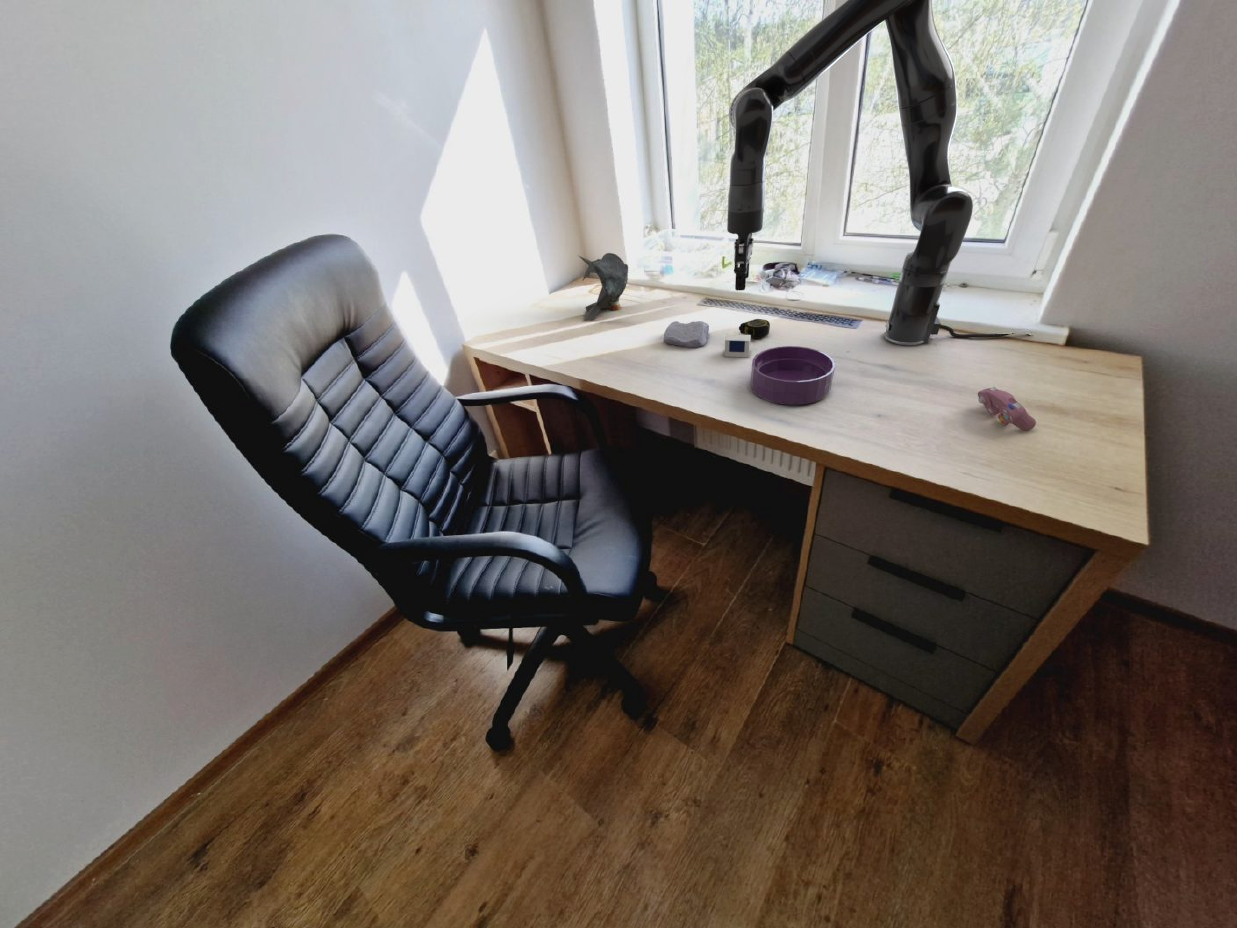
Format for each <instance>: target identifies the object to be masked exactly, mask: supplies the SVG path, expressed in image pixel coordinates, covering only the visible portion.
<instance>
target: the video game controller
mask: <svg viewBox="0 0 1237 928" xmlns="http://www.w3.org/2000/svg"><path fill="white" fill-rule="evenodd" d="M977 397H978V398H977V401H978V403H979V404H982V405H983V406H984V408H985V409H986V412H987V413H988V415H990V416H991V417H995V416H997V420H998V421H999V422H1000V424H1002V425H1003V426H1008V425H1009V424H1010V425H1013V426H1015V427H1016V428H1017V429H1019V430H1023V431H1031V430H1033V429H1034V428H1035V427H1036V425H1037V421H1036V419H1035V418H1034V417H1033V416H1031V415H1030V414H1029V413H1028V412H1027V410H1026V408H1025V407H1024V406H1023V405H1022V404H1021V403H1020V402H1019V401H1017V399H1016V398H1015V396H1014V395H1013V394H1012V393H1010V392H1008V391H1005V390H1001V389H998V388H997V387H996V386H992V387H988V388H984V389H982V390H980V391H978V392H977Z"/></svg>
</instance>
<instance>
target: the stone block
mask: <svg viewBox="0 0 1237 928" xmlns="http://www.w3.org/2000/svg"><path fill="white" fill-rule="evenodd" d="M709 333H710V325H709V324H708V323H707V322H706V321H703V320H700V321H699V320H698V321H690V322H686V323H684V322H679V321H672V322H671V323H670V324H668V326H667V327H666V328H665V330H664V333H663V341H664V343H665V344H670V345H676V346H678V347H683V348H690V349H692V348H693V349H694V348H701V347H703V346H704V345H705V344H707V339H708V336H709Z"/></svg>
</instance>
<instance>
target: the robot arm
mask: <svg viewBox="0 0 1237 928" xmlns="http://www.w3.org/2000/svg"><path fill="white" fill-rule="evenodd" d="M883 22H885V26H886V31H887V35H888V39H889V43H890V49H891V58H892V65H893V67H892V68H893V76H894V82H895V89H896V97H897V99H896V100H897V107H898V115H899V116H898V117H899V121H900V128H901V134H902V139H903V147H904V152H905V153H904V154H905V158H906V163H907V169H908V177H909V214H910V221H911V223H912V225H913V227H914V228H915V229H916V230H917V231H919V232H920V233H919V236H918V239H917V243H916V246H915V248H914V250H911V251H909V252H908V253H907V254H906V255H905V258H904V261H903V263H902V268H901V272H900V276H899V279H898V284H897V287H896V291H895V294H894V298H893V302H892V305H891V310H890V314H889V317H888V320H887V321H885V332H884V335H883V337H884V339H885V340H886V341H887V342H889V343H892V344H895V345H900V346H918V345H923V344H929V341H930V338H931V335H932V336H938V335H939V331H940V329H941V330H945V331H946V332H947V331H948V333H949V335H950V336H951V337H953V338H958V339H972V338H973V339H975V338H976V339H980V338H981V339H982V338H983V339H985V338H986V339H987V338H990V339H991V338H1001V337H1006V336H1010V335H1014V334H1015V333H1012V334H997V333H956V332H955V331H954V329H953V328H952V327H951V326H948V325H945V324H942V323H941V321H940V320H939V317H938V313H939V311H940V307H941V304H940V302H939V301H940V298H941V295H942V292H943V290H944V289H943V288H944V286H945V282H946V279H947V276H948V273H949V269H950V267H951V263H952V262H953V261H954V259H955V258H956V257H957V255H958V254H959V251H960V249H961V247H962V244H963V241H964V239H965V237H966V234H967V231H968V228H969V225H970V223H971V220H972V217H973V216H972V215H973V212H974V201H973V198H972V196H971V195H970V194H969V192H966V191H964V190H962V189H959V188H956V187H954V185H953V183H952V179H951V173H950V164H949V150H950V145H951V139H952V136H953V133H954V131H955V130H954V129H955V126H956V121H957V116H958V96H957V95H958V94H957V83H956V74H955V73H956V72H955V67H954V65H953V62H952V59H951V56H950V54H949V53H948V51H947V48H946V46H945V45H944V43H943V40H942V38H941V36H940V34H939V32H938V29H937V26H936V24H935V19H934V12H933V2H932V0H846V1H844V2H843V4H841V5H840V6H839V7H837V8H836V9H834V10H833V11H832V12H831V13H830V14H827V16H825V17H824V18H823V19H821V20H820V21H819V22H818V23H817V24H815V25H814V26H813V27H811V28H810V29H809V30H808V31H807V32H806V33H804V34H803V35H802V36H801V37H800V38H799V39H798V40H797V41H796V42H795V43H794V44H793V45H791V47H789V48H788V50H786V51H785V52H784V53H783V54H782V55H781V56H780V57H779V58H778V59H777V60H776V61H775V62H774V63H773V64H772V65H771V66H769V68H767V69H765V70H764V71H763V72H761V74H759V75H758V76H757V77H755V78H754V79H753V80H751V81H750V82H749V83H747V84H746V85H745V86H744V87H742V89H741V90H740V91H739V92H738V93H736V94H735V96H734V97H733V99H732V101H731V103H730V106H729V109H728V119H729V123H730V126H731V127H732V128H733V129H734V130H735V136H734V138H735V139H734V150H733V153H732V155H731V158H730V165H729V187H728V194H727V195H728V196H727V221H726V222H727V223H726V224H727V225H726V227H727V228H726V231H727V233H729V234H732V235H737V238H735V240H734V242H733V243H734V244H733V251H734V254H733V263H734V269H733V273H734V274H735V286H734V289H735V291H745V290H746V285H747V284H746V283H747V281H746V280H747V279H749V276H750V262H751V259H752V258H751V256H752V255H753V249H754V248H753V247H754V243H755V241H754V240H755V239H754V237H753V234H755V233H758V232H760V231H762V229H763V226H764V225H763V224H764V212H765V211H764V210H765V209H764V208H765V199H766V198H765V196H766V195H765V194H766V190H765V180H766V179H765V178H766V165H767V164H766V161H767V160H766V158H767V157H766V155H767V151H768V147H769V142H770V137H771V132H772V127H773V119H774V111H775V110H777V109H778V108H779V107H780V106H781V105H783V104H784V103H785V102H788V101H790V100H793V99H794V98H795V97H797V96H799V95H800V94H801V93H802V92H804V90H806V89H807V88H808V87H810V85H811V84H813V83H814V82H815V81H816V80H817V79H818V78H820V76H822V75H823V74H824V73H825V72H826V71H827V70H829V69H830V68H831V67H832V66H834V64H835V63H836V62H838V61H839V59H840V58H842V57H843V56H844V55H845V54H846V53H847V52H849V50H851V49H852V48H853V47H854V46H855V45H856V44H858V42H860V41H861V40H862V39H863V38H864V37H866V36H867V35H868V34H869V33H870V32H872V31H873V30H874V29H875V28H877V27H878V26H879V25H880V24H882V23H883ZM1028 336H1029V337H1031V336H1030V335H1028Z"/></svg>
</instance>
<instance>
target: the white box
mask: <svg viewBox="0 0 1237 928" xmlns="http://www.w3.org/2000/svg"><path fill="white" fill-rule="evenodd" d="M751 338H752V337H751V335H745V334H731V333H729V334H726V337H725V340H724V357H728V358H729V357H730V358H749V356H750V351H751Z"/></svg>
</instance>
